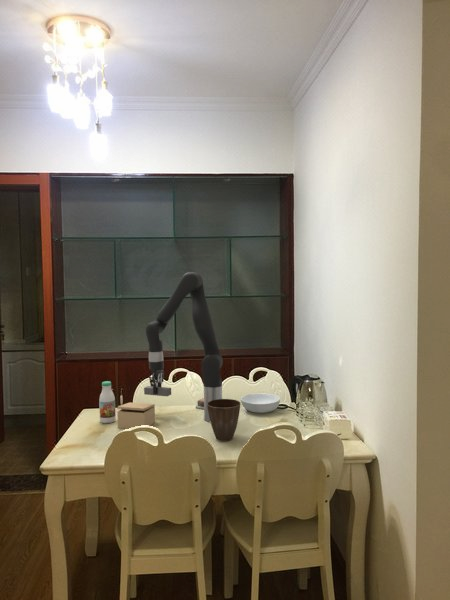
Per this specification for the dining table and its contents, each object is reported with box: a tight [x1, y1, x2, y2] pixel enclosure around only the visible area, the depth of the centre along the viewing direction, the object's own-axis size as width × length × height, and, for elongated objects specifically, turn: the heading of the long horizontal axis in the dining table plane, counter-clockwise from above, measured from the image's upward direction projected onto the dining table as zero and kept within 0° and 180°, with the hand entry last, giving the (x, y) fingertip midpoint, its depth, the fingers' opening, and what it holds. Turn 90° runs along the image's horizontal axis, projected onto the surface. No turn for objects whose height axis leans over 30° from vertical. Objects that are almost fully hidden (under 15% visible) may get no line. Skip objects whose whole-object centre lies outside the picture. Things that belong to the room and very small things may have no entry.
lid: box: [117, 402, 156, 411], centre depth 236 cm, size 14×12×1 cm
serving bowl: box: [240, 392, 281, 414], centre depth 257 cm, size 21×21×7 cm
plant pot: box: [207, 398, 242, 442], centre depth 215 cm, size 15×15×16 cm
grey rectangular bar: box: [143, 385, 172, 397], centre depth 250 cm, size 14×4×4 cm, turn 65°
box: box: [116, 405, 156, 430], centre depth 236 cm, size 14×12×8 cm
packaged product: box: [195, 397, 204, 411], centre depth 263 cm, size 18×5×10 cm
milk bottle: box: [98, 380, 117, 424], centre depth 243 cm, size 8×8×20 cm
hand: (157, 392), depth 250 cm, fingers closed on grey rectangular bar, 4 cm apart
